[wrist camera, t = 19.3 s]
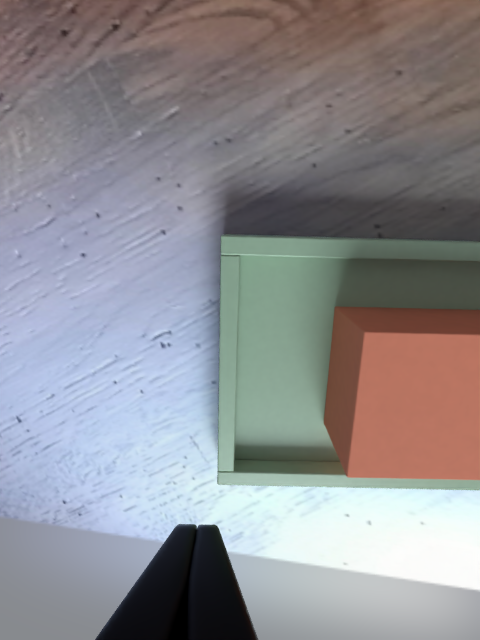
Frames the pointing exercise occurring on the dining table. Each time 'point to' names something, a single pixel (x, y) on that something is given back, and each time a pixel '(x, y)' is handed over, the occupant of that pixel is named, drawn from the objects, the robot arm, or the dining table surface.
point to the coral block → (405, 392)
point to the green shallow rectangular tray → (313, 343)
